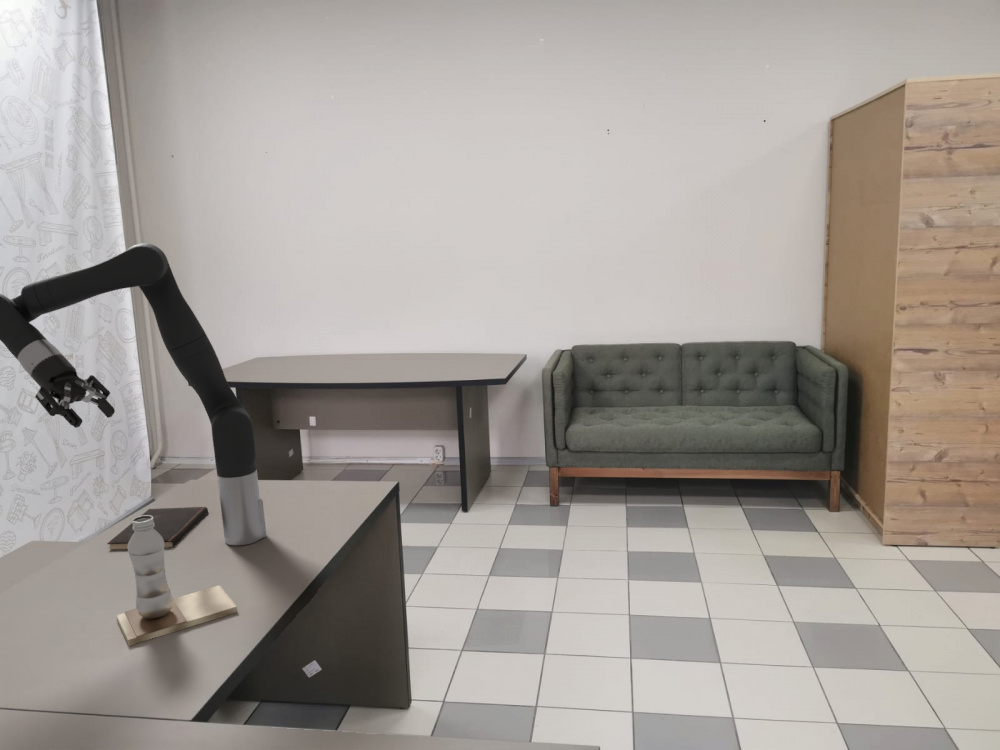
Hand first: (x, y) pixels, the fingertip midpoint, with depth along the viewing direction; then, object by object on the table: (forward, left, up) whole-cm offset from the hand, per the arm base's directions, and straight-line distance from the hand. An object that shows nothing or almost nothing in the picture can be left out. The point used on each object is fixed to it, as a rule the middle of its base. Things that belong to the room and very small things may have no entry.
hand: (96, 419), depth 166 cm
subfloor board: (-6, +26, -37) cm, 45 cm away
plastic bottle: (-3, +25, -35) cm, 44 cm away
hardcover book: (-14, -25, -37) cm, 47 cm away
